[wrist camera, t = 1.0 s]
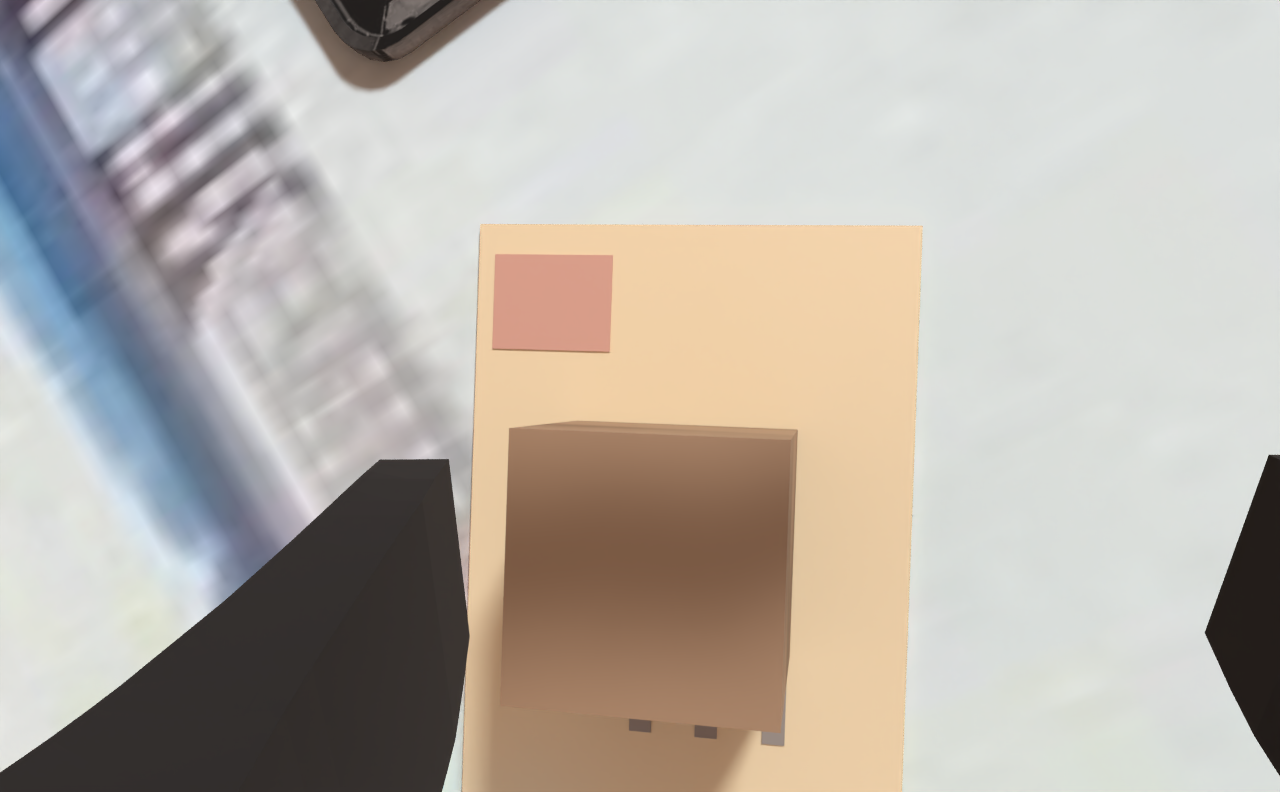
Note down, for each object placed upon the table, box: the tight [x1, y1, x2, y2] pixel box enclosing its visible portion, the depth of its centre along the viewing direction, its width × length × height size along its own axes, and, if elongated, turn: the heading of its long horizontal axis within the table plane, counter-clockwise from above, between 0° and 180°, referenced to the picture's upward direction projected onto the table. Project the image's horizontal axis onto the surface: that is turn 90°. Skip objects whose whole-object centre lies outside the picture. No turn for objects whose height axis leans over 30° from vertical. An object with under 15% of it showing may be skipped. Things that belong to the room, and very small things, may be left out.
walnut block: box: [500, 421, 798, 733], centre depth 20 cm, size 5×5×5 cm
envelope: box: [462, 224, 923, 792], centre depth 22 cm, size 14×10×1 cm
